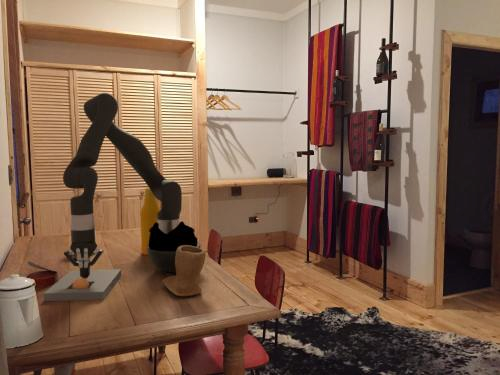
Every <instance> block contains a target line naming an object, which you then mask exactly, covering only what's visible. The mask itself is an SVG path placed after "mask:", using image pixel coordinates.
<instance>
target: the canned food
mask: <svg viewBox="0 0 500 375" xmlns="http://www.w3.org/2000/svg"><path fill="white" fill-rule="evenodd" d="M27 265H29V266H30V267H32V268H35V269H39V270H37V271H35V272H31V273H29V274H27V275H26V279H27V278H31V279H34V280H35V282H36V286H37V287H36V288H40V287H39V286H43V287H48V286H51V285H52V286H53V285H54V284H55V283H57V282H58V281H59V275H58V274H59V273H58V271H57V270H54V269H53V270H52V269H48V268H45V267H44V266H40V265H39V264H36V263H34V262H32V261H29V260H28V261H27Z"/></svg>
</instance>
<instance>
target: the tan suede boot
mask: <svg viewBox="0 0 500 375" xmlns="http://www.w3.org/2000/svg"><path fill="white" fill-rule="evenodd" d="M205 263H206V252H205V249H203V248H201V247H200V248H198V247H194V246H189V245H183V246H180V247H178V249H177V250H176V256H175V267H176V272H175V274H176V275H170V276H168V277H165V278H164V279H163V280H162V284H163V285H164V286H165V287H166V288H167V289H168V290H169V291H170V292H171V293H172V294H174V295H175V296H178V297H188V296H189V297H190V296H195V295H198V294H199V295H200V293H202V291H203V290H202V287H201V286H200V284H199V282H198V281H199V277H200V276H201V275H200V274H201V273H202V270H203V268H204V265H205Z"/></svg>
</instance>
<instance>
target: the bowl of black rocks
mask: <svg viewBox="0 0 500 375" xmlns="http://www.w3.org/2000/svg"><path fill="white" fill-rule="evenodd" d="M149 232H150V236H149V245H148V246H147V252H148V255H147V256H148V258H149V260H150V261H151V263H152V264H153V265H154V266H155V267H156V268H158V269H159V270H161V271H164V272H168V273H176V267H175V256H176V250H177V249H178V247H180V246H183V245H189V246H194V247H198V248H201V243H199V241H198V238H197V236H196V234H195V229H194V228H193V227H192V226H189V225H187V224H185V222H184V221H181V220H180V223H179V225H177V227H176V228H175V229H173V230H172V231H170V232H169V233H168V234H165V233H164V232H163V231H161V230H160V229H159V223H157V222H156V223H154V224H153V226H152V227H151V228H150V230H149Z"/></svg>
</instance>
